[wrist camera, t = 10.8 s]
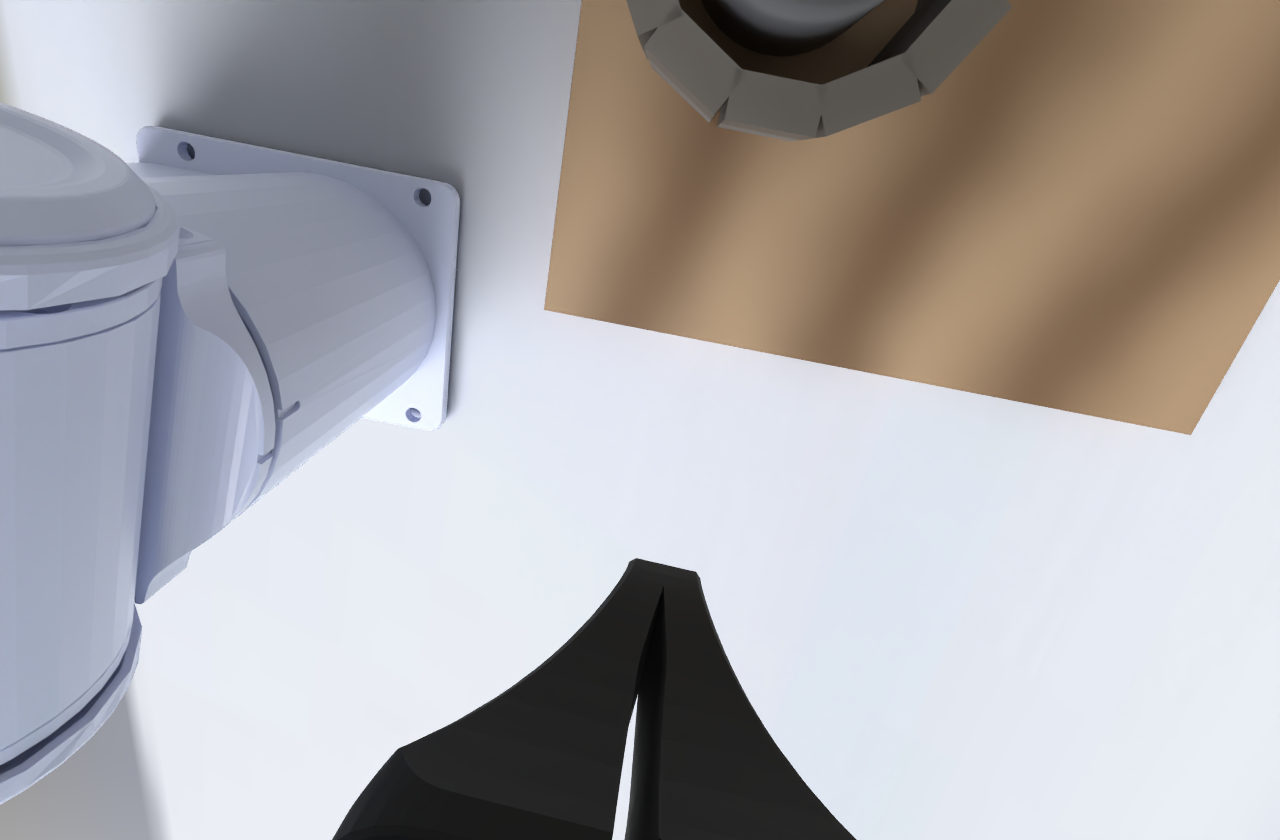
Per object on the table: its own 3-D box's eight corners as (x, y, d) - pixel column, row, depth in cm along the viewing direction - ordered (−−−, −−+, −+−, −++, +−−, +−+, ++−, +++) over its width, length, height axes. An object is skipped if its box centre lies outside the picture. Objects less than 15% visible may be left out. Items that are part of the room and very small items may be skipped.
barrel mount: (550, 302, 20) (515, 340, 16) (640, -412, 14) (620, -655, 10) (1167, 422, 20) (1292, 490, 16) (1529, -233, 14) (1884, -397, 10)
